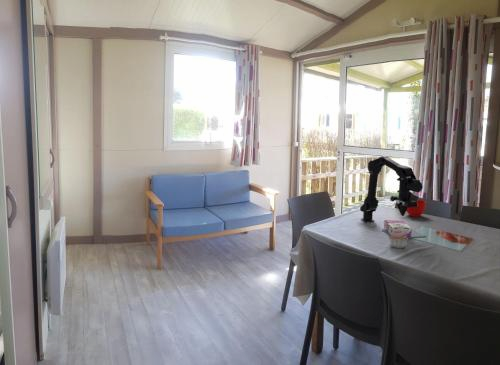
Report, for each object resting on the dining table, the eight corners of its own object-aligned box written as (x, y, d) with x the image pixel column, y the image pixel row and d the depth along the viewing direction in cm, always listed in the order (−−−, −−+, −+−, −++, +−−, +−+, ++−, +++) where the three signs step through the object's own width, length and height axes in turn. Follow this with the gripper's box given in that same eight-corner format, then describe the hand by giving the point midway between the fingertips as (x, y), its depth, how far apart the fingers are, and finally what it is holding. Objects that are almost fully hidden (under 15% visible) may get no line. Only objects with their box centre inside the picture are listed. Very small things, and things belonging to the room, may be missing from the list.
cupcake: (411, 248, 198) (412, 229, 197) (395, 250, 196) (397, 231, 194) (399, 243, 207) (400, 224, 206) (384, 244, 205) (385, 226, 203)
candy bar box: (383, 228, 234) (390, 235, 218) (383, 220, 233) (391, 227, 217) (402, 228, 233) (411, 236, 217) (403, 220, 232) (412, 227, 216)
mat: (381, 230, 230) (381, 229, 230) (409, 229, 233) (409, 228, 233) (397, 238, 214) (397, 237, 214) (426, 236, 218) (426, 236, 218)
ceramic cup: (395, 213, 271) (396, 199, 269) (418, 213, 273) (419, 199, 271) (404, 218, 258) (405, 203, 257) (428, 217, 260) (429, 203, 259)
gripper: (427, 191, 214) (425, 219, 217) (407, 186, 232) (405, 211, 235) (409, 192, 212) (407, 220, 215) (390, 186, 230) (388, 212, 233)
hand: (402, 215), depth 224 cm, fingers closed
